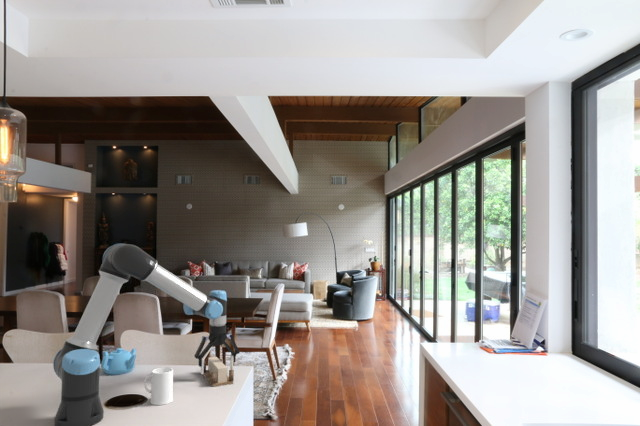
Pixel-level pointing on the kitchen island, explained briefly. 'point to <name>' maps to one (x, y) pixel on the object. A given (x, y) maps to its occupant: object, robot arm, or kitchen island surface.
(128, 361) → the teapot
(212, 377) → the rack
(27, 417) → the kitchen island surface
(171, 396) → the mug
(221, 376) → the beige long block
